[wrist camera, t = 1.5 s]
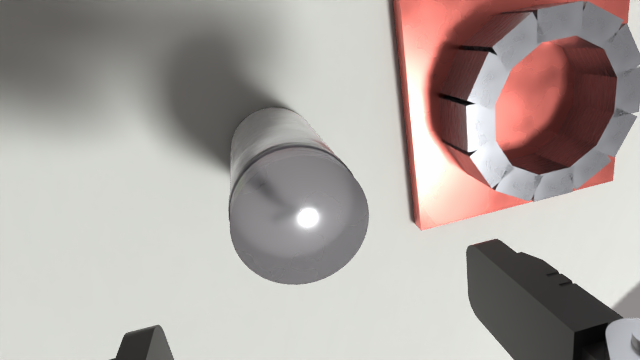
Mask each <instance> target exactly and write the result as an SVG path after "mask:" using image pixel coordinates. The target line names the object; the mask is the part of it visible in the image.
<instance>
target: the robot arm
mask: <svg viewBox="0 0 640 360" xmlns="http://www.w3.org/2000/svg"><path fill="white" fill-rule="evenodd" d="M466 257H467V279H468V296H469V301H470V304H471V307H472V309H473V311H474V313H475V315H476V316H477V318H478V319H479V320H480V321H481V322H482V324H483V325H484V326H485V327H486V328H487V329H488V330H489V332H490V333H491V334H492V335H493V336H494V337H495V338H496V340H497V341H498V342H499V343H500V344H501V345H502V346H503V348H504V349H505V350H506V351H507V352H508V353H509V354H510V356H511V357H512V358H513V359H514V360H640V318H623V317H621V316H620V315H619V314H617V313H616V312H615V311H613V310H612V309H610V308H609V307H608V306H606V305H605V304H603V303H602V302H601V301H599V300H598V299H596V298H595V297H594V296H592V295H591V294H589V293H588V292H587V291H585V290H584V289H582V288H581V287H580V286H578V285H577V284H573V283H572V281H571V280H570V279H568V278H567V277H566V276H564V275H563V274H559V272H558V271H557V270H556V269H555V268H553V267H552V266H550V265H549V264H548V263H546V262H545V261H543V260H541V259H539V258H536V257H534V256H531V255H528V254H526V253H523V252H520V253H516V252H515V251H514V250H512V249H511V248H510V247H508V246H507V245H506V244H504V243H503V242H502V241H500V240H498V239H493V240H489V241H485V242H482V243H478V244H474V245H470V246H468V248H467V252H466ZM111 360H174V358H173V356H172V353H171V350H170V347H169V345H168V342H167V339H166V337H165V334H164V331H163V329H162V328H161V326H160V325H155V326H152V327H148V328H144V329H140V330H136V331H132V332H128V333H126V334H125V335H124V337H123V339H122V342H121V345H120V348H119V350H118V353H117V356H116V358H114V359H111Z"/></svg>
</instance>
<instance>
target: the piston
mask: <svg viewBox="0 0 640 360" xmlns="http://www.w3.org/2000/svg"><path fill="white" fill-rule="evenodd" d="M368 220H369V211H368V204H367V199H366V197H365V194H364V192H363V190H362V188H361V186H360V184H359V183H358V182H357V180H356V179H355V178H354V176H353V174H352V173H351V171H350V170H349V169H348V168H347V166H346V165H345V164H344V163H343V162H342V161H341V160H340V159H339V158H338V157H337V156H336V155H335V154H334V153H333V152H332V151H331V149H330V148H329V147H328V146H327V145H326V143H325V142H324V141H323V140H322V139H321V138H320V136H319V135H318V134H317V133H316V132H315V130H314V129H313V128H312V127H311V126H310V125H309V123H308V122H307V121H306V120H305V119H304V118H303V117H301V116H300V115H299V114H297V113H295V112H293V111H291V110H288V109H284V108H278V107H271V108H265V109H261V110H258V111H256V112H254V113H252V114H251V115H249V116H248V117H246V118H245V119H244V120H243V121H242V122H241V123H240V125H239V126H238V127H237V129H236V131H235V133H234V135H233V138H232V142H231V168H230V196H229V221H230V234H231V239H232V242H233V245H234V248H235V250H236V252H237V254H238V256H239V257H240V258H241V260H242V261H243V262H244V264H245V265H246V266H247V267H248V268H249V269H251V270H252V271H253V272H255V273H256V274H258V275H259V276H261V277H263V278H265V279H268V280H270V281H273V282H277V283H282V284H295V285H297V284H307V283H311V282H315V281H318V280H321V279H324V278H326V277H328V276H330V275H332V274H334V273H335V272H337V271H338V270H340V269H341V268H342V267H344V266H345V265H346V264H347V263H348V262H349V261H350V260H351V259H352V258H353V257H354V255H355V254H356V253H357V251H358V250H359V248H360V246H361V244H362V242H363V240H364V238H365V235H366V232H367V227H368Z"/></svg>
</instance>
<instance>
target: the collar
mask: <svg viewBox="0 0 640 360" xmlns="http://www.w3.org/2000/svg"><path fill="white" fill-rule="evenodd" d="M629 1H630V0H393V7H394V17H395V27H396V37H397V47H398V58H399V68H400V78H401V88H402V98H403V108H404V118H405V128H406V138H407V148H408V159H409V169H410V179H411V189H412V199H413V209H414V219H415V224H416V225H417V226H418V227H419V228H420V230H425V229H428V228H432V227H436V226H440V225H444V224H448V223H452V222H455V221H459V220H463V219H467V218H471V217H475V216H479V215H482V214H486V213H490V212H494V211H498V210H502V209H505V208H509V207H513V206H517V205H521V204H525V203H529V202H532V201H534V202H535V201H539V200H543V199H546V198H550V197H554V196H558V195H562V194H566V193H570V192H573V191H575V190H579V189H583V188H586V187H590V186H594V185H598V184H602V183H606V182H609V181H613V174H614V163H615V155H616V154H617V152H618V150H619V148H620V146H621V145H622V143H623V141H624V139H625V137H626V136H627V134H628V132H629V130H630V128H631V127H632V125H633V123H634V121H635V119H636V118H637V116H635V115H633V114H631V113H635V112H639V105H640V66H638V65H640V53H639V51H638V48H637V46H636V44H635V41H634V39H633V37H632V34H631V32H630V30H629V27H628V25H627V23H628V12H629Z"/></svg>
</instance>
